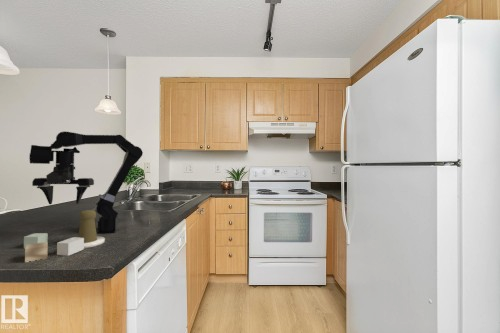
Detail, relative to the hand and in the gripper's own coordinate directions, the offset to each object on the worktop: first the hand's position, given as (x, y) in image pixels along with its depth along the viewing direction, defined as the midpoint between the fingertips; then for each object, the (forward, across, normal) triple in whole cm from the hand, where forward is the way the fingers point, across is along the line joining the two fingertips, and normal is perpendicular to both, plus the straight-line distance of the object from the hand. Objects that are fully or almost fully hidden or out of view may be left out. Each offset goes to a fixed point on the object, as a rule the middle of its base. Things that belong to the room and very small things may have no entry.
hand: (64, 203), depth 95 cm
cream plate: (+13, +12, -10) cm, 20 cm away
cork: (+12, +12, -10) cm, 20 cm away
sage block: (+13, -4, -10) cm, 17 cm away
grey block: (+13, +10, -19) cm, 25 cm away
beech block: (+13, +3, -22) cm, 26 cm away
